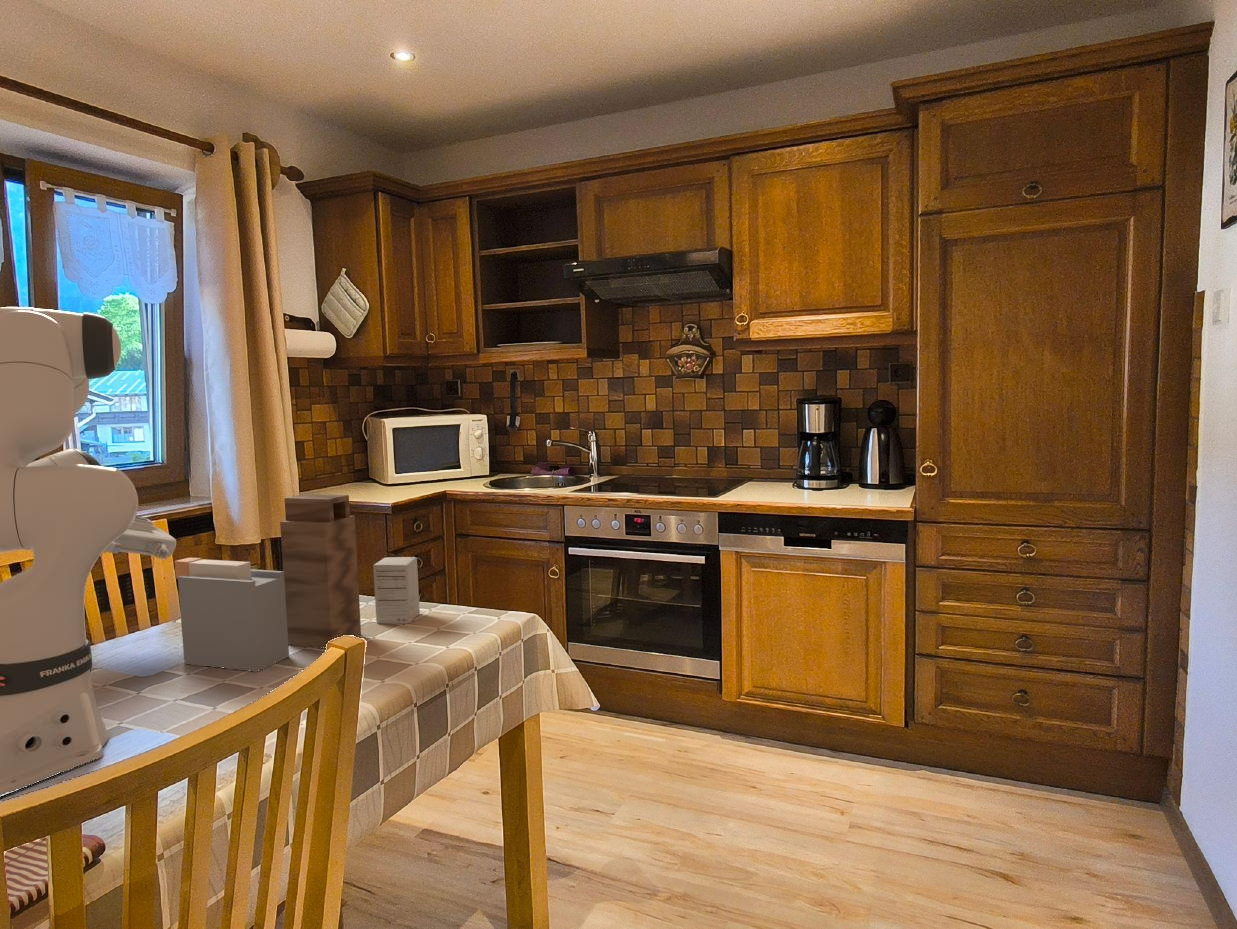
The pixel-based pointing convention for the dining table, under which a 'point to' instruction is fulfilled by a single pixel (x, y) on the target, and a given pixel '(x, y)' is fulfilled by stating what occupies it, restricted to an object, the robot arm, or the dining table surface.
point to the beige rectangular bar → (213, 568)
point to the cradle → (234, 620)
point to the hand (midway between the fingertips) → (141, 552)
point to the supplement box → (396, 589)
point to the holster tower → (320, 569)
